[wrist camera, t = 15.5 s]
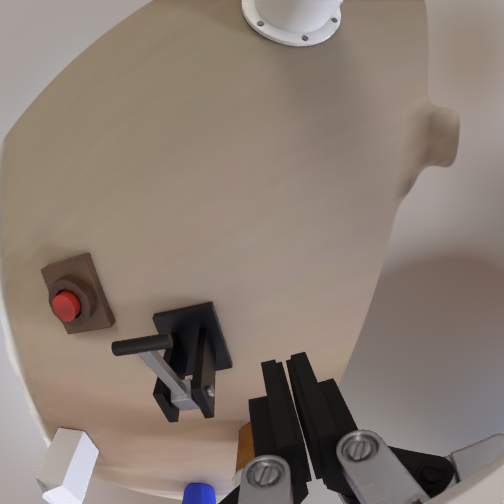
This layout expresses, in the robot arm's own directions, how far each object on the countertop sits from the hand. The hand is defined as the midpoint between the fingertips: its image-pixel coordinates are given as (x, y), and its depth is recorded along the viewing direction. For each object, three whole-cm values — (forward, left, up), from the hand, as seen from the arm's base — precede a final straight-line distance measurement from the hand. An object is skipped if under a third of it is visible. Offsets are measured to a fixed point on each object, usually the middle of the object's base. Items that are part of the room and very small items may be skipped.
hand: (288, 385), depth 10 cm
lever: (+7, -10, -13) cm, 18 cm away
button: (+2, -24, -22) cm, 33 cm away
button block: (+2, -24, -25) cm, 35 cm away
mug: (+52, -23, -25) cm, 62 cm away
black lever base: (+12, -10, -25) cm, 30 cm away
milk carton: (+33, -44, -25) cm, 61 cm away
